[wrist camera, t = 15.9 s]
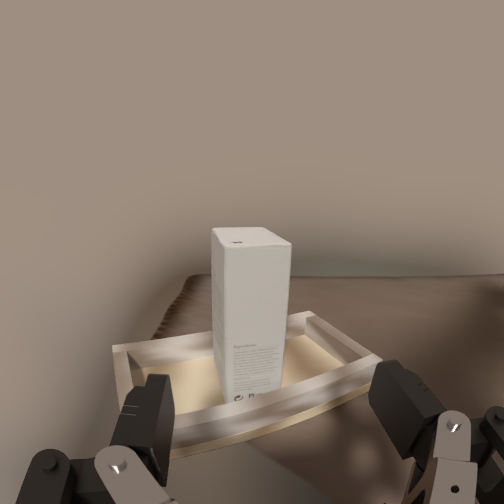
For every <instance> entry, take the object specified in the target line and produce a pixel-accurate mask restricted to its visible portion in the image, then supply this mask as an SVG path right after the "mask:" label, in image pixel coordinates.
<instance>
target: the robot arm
mask: <svg viewBox="0 0 504 504" xmlns="http://www.w3.org/2000/svg"><path fill="white" fill-rule="evenodd" d="M368 398H369V403H370V405H371V407H372V409H373V410H374V412H375V414H376V415H377V417H378V419H379V420H380V422H381V424H382V426H383V427H384V429H385V431H386V432H387V434H388V436H389V437H390V439H391V441H392V443H393V444H394V446H395V448H396V449H397V451H398V453H399V455H400V456H401V458H402V460H404V459H407V458H410V457H414V458H415V461H414V463H413V465H412V469H411V473H410V476H409V480H408V484H407V487H406V490H405V494H404V497H403V500H402V502H401V504H474V503H475V496H476V498H477V499H478V501H479V503H480V504H504V475H503V473H502V472H501V470H500V469H499V467H498V466H497V465H496V463H495V462H494V460H493V459H492V457H491V456H492V454H493V453H494V452H495V450H497V452H498V453H499V454H500V456H501V457H502V459H503V460H504V408H503V407H499V406H495V407H491V408H489V409H488V410H487V412H486V414H485V416H484V417H483V418H477V419H469V418H468V417H467V416H466V415H464V414H463V413H461V412H458V411H447V410H446V409H445V407H444V406H443V405H442V404H441V403H440V401H439V400H438V399H437V398H436V397H435V396H434V394H433V393H432V392H431V391H430V390H429V389H428V387H427V386H426V385H425V384H423V382H422V380H421V379H420V378H419V377H418V376H417V375H416V374H414V373H413V372H411V371H409V370H408V369H404V368H403V367H402V365H401V364H400V363H399V362H398V361H397V360H390V361H384V362H379V363H378V364H377V365H376V368H375V371H374V375H373V379H372V382H371V386H370V389H369V394H368ZM174 420H175V406H174V399H173V393H172V387H171V381H170V376H169V375H168V374H148V377H147V380H146V383H145V386H135V387H134V388H133V389H132V390H131V391H130V392H129V393H128V394H127V395H126V398H125V401H124V404H123V407H122V410H121V415H119V418H118V421H117V424H116V427H115V430H114V433H113V437H112V440H111V443H110V445H109V447H106V448H104V449H102V450H101V451H100V452H99V453H98V454H97V455H96V457H94V458H89V459H73V460H69V459H68V458H67V456H66V455H65V454H64V453H63V452H60V451H59V450H55V449H46V450H42V451H40V452H38V453H37V454H36V455H35V456H34V457H33V459H32V461H31V463H30V466H29V468H28V471H27V473H26V476H25V479H24V481H23V484H22V487H21V489H20V492H19V495H18V498H17V501H16V504H179V503H178V502H177V501H176V500H175V499H171V498H170V497H169V496H168V495H167V494H166V493H165V491H164V490H163V489H162V488H161V486H162V487H166V483H167V475H168V467H169V458H170V450H171V443H172V435H173V428H174ZM384 504H386V503H384Z"/></svg>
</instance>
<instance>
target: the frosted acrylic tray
mask: <svg viewBox="0 0 504 504" xmlns="http://www.w3.org/2000/svg"><path fill="white" fill-rule="evenodd" d="M112 348H113V359H114V368H115V377H116V385H117V391H118V399H119V405H120V412H121V410H122V407H123V404H124V401H125V398H126V395H127V394H128V393H129V392H130V391H131V390H132V389H133V388H134V387H135V386H145V383H146V380H147V377H148V374H168V375H169V376H170V381H171V387H172V393H173V399H174V406H175V420H174V428H173V435H172V443H171V450H170V458H169V460H172V459H177V458H182V457H187V456H191V455H196V454H200V453H204V452H208V451H212V450H216V449H220V448H223V447H227V446H230V445H234V444H237V443H241V442H244V441H247V440H250V439H254V438H257V437H260V436H263V435H266V434H269V433H272V432H274V431H277V430H280V429H283V428H285V427H288V426H291V425H293V424H296V423H299V422H301V421H304V420H306V419H309V418H311V417H313V416H316V415H318V414H321V413H323V412H325V411H328V410H330V409H332V408H334V407H337V406H339V405H341V404H343V403H345V402H347V401H349V400H352V399H354V398H356V397H358V396H360V395H362V394H364V393H366V392H368V391H369V389H370V386H371V382H372V379H373V375H374V371H375V368H376V365H377V364H378V363H379V362H382V361H383V360H382V359H381V358H379V357H378V356H376V355H375V354H373V353H372V352H370V351H369V350H367V349H366V348H364V347H363V346H361V345H360V344H358V343H357V342H355V341H354V340H352V339H351V338H349V337H348V336H346V335H345V334H343V333H342V332H340V331H339V330H337V329H336V328H334V327H333V326H331V325H330V324H328V323H327V322H325V321H324V320H322V319H321V318H319V317H318V316H316V315H315V314H313V313H312V312H310V311H306V312H302V313H297V314H293V315H288V316H287V324H286V337H285V347H284V358H283V368H282V379H281V388H280V389H277V390H273V391H270V392H267V393H264V394H260V395H257V396H253V397H250V398H246V399H243V400H239V401H235V402H231V403H227V404H225V400H224V397H223V394H222V390H221V387H220V383H219V380H218V376H217V373H216V369H215V365H214V353H213V331H207V332H202V333H196V334H190V335H183V336H177V337H171V338H164V339H157V340H150V341H143V342H136V343H128V344H120V345H113V346H112Z"/></svg>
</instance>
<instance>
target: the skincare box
mask: <svg viewBox="0 0 504 504" xmlns="http://www.w3.org/2000/svg"><path fill="white" fill-rule="evenodd" d="M291 252H292V244H291V243H289V242H287V241H286V240H284V239H282V238H280V237H278V236H277V235H275V234H274V233H272V232H270V231H268V230H266V229H265V228H263V227H244V228H243V227H242V228H213V229H212V315H213V353H214V365H215V369H216V373H217V376H218V380H219V383H220V387H221V390H222V394H223V397H224V400H225V404H227V403H231V402H235V401H239V400H243V399H246V398H250V397H253V396H257V395H260V394H264V393H267V392H270V391H273V390H277V389H280V388H281V379H282V368H283V358H284V347H285V337H286V324H287V312H288V298H289V283H290V268H291Z"/></svg>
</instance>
